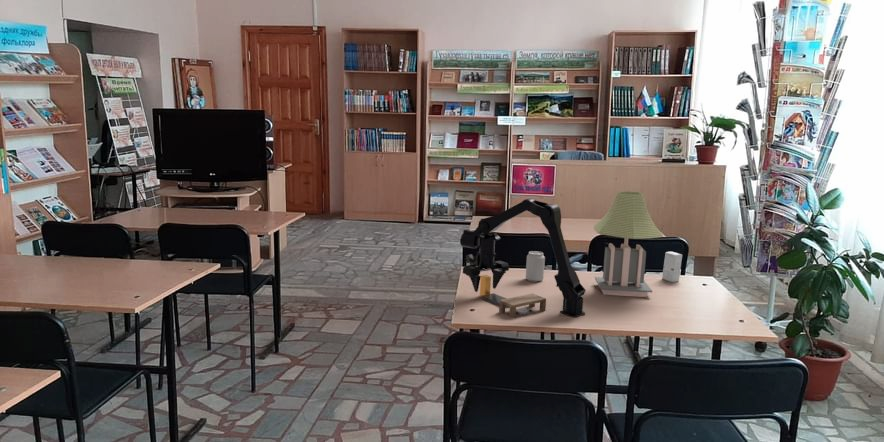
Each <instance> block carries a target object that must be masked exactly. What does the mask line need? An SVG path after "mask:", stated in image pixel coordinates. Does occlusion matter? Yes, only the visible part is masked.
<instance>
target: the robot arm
mask: <svg viewBox="0 0 884 442" xmlns="http://www.w3.org/2000/svg"><path fill="white" fill-rule="evenodd" d="M561 211H562V210H561V208H560V206H559V205H558V204H557V203H548V202H543V201H540V200H536V199H533V198H532V197H531V198H526V199H523V200H522V201H521V202H519V203H517V204H515V205H513V206H511V207H510V208H507V209H506V210H505V209H504V211H502V212H499V213H498V214H495V215H491V216H487V217H485V218H481V219H480V220H479V221H478V226H477V227H476V228H475V230H471V229H467V228H466V229H463V230H462V231H463V233H462V234H461V236H460V239H459V243H460V247H462V248H468V249H469V248H470V249H475V250H476V249H477V248H478V247H479V251H477V252H476V255H473V254H466V255H465V262H466V264H468V265H463V267H462V274H464V275H465V276H468V277H469V278H470V281H471V283H472V286H473V290H474V292H475V293H477V292H478V291H479V288H480V282H481V276H482V275H480V274H481V272H487V271H491V273H492V288H493V289H495V290H496V288H497V287H498V284H499V282H500V281H501V279H502V278H503V277H504V275H505V274H506V273H507V272H508V271H509V270H510V265H509V263H508V262H505V261H502V260H496V261H495V258H496V257H497V253H496V252H495V249H496V247H495V245H496V241H498V240H501V239H502V238H501V237H500V236H499V235H498V233H497V232H495V231H497V230H498V229H499V228H500V227H502V226H503V225H504V224H505V223H506V222H509V221H510V220H512V219H514V218H516V217H517V216H519V215H522V214H524V213H526V212H530V213H531V214H532V215H535V216H537V217H539V219H540V221H541V223H542V225H543V226H544V228H546V230H547V232H548V236H549V239H550V243H551V247H552V250H553V254H554V258H555V261H556V265H557V273H556V274H554V276H553V277H554V280H555V282H556V285H555V286H556V288H558V290H559V291H560V292H561V294H562V298H563V300H562V309H561V310H560V311H559V313H561V314H563V315H567V316H569V317H572V318H573V317H578V316H582V315H586V312H584V311H583V308H584V304H583V303H584V298H583V297H582V296H584V295H585V294H586V289H585V286H583V285H582V284H581V282H580V279H579V275H578V274H577V272H576V271H575V269H574V268H573V267H572V265H571V261H570V257H569V254H568V250H567V246H566V243H565V240H564V238H565V237H564V236H563V235H564V234H563V231H562V227H561V226H562V214H561V213H562V212H561ZM493 232H495V233H493ZM490 233H493V234H490ZM483 234H484V235H483Z"/></svg>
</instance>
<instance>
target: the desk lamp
mask: <svg viewBox="0 0 884 442" xmlns="http://www.w3.org/2000/svg"><path fill="white" fill-rule="evenodd" d="M593 230H594V231H595V232H596V233H597V234H598V235H603V236H608V237H616V238H622V239H624V240H623V241H624V242H623V243H621V244H620V247H616V246H615V245H614V244H613V243H611V242H610V243H608V247H606V246H605V247H604V257H603V258H604V259H603V273H602V274H603V275H602V276H601V277H600V276H594V280H595V282H596V283H597V286H598V287H599V289H600V290H601V292H602V295H604V296H605V295H608V296H620V297H621V296H623V297H624V296H625V297H641V298H647V297H648V293H653V289H651V287H650V286H649V285H648V284H647V282H646V281H645V273H646V272H645V269H646V259H647V251H646V250H645V249H644V248H643V246H641V244H636V245H635V246H636V247H635V248H631V246H630V245H629V239H630V240H631V239H632V240H639V239H641V240H645V239H646V240H647V239H655V238H656V239H658V238H662V237H663V234H662V232H661V231H660V230H659V228H658V227H657V226H656V225H655V223H654V221H653V220H652V218H651V215H650V213H649V212H648V208H647V205H646V201H645V197H644V194H643V193H642V192H639V191H629V190H627V191H626V190H624V191H622V190H621V191H617V193H616V196H615V198H614V200H613V202H612V204H611V206H610V208H609V209H608V211H607V212H606V213H605V215H604V216H603V217H602V218H601V219H599V221H598V222H597V223H596V224H594V226H593Z"/></svg>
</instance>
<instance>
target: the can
mask: <svg viewBox="0 0 884 442" xmlns="http://www.w3.org/2000/svg"><path fill="white" fill-rule="evenodd" d="M545 261H546V256H544V252H543V251H536V250H534V251H533V250H531V251H528V254H527V255H526V263H525V264H526V265H525V279H526V280H527V281H529V282H532V283H533V282H534V283H536V282H537V281H540V282H542V281H543V280H544V277H545V276H544V275H545ZM537 283H538V282H537Z"/></svg>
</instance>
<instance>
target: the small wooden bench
mask: <svg viewBox="0 0 884 442" xmlns="http://www.w3.org/2000/svg"><path fill="white" fill-rule="evenodd" d="M538 303H539V311H541V312H545V311H546V309H547V306H546V305H547V298H546V297H543V296H540V295H538V294H535V293H529V294H524V295H519V296H514V297H508V298H507V299H503V300H500V304H499V306H498V307H499V309H498V312H499V313H500V314H505V313H506V308H505V305H506V306H509V317H510V318H512V319H514V318H516V316H517V312H516V309H517V308H522V307H524V306H525V307H526V306H529V307H530V308H534V307H535V306H536V304H538Z"/></svg>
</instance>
